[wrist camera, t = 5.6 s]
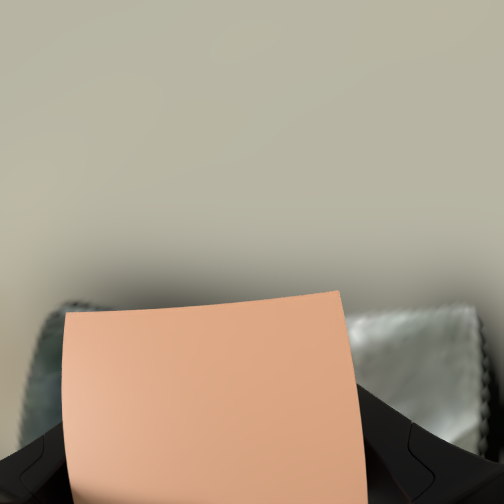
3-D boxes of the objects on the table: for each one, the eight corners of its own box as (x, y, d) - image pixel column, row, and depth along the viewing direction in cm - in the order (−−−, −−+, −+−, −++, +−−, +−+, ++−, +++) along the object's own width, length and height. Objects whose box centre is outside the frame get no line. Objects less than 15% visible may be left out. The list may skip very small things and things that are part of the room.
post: (298, 454, 12) (368, 555, 2) (201, 461, 12) (87, 549, 2) (288, 365, 14) (339, 290, 5) (193, 373, 14) (66, 312, 5)
